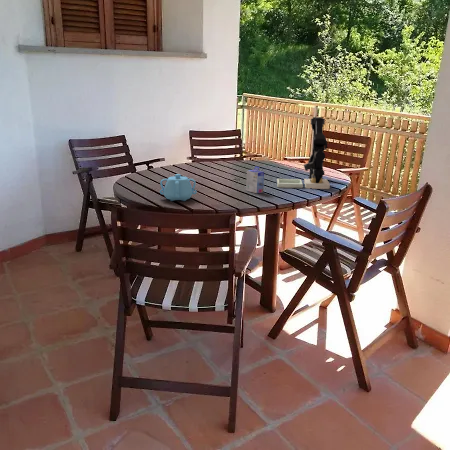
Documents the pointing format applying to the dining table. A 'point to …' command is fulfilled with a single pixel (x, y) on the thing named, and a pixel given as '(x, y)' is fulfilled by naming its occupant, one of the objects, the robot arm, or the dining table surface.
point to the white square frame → (317, 184)
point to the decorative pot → (178, 188)
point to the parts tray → (289, 183)
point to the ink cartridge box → (255, 181)
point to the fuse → (315, 179)
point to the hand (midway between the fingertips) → (316, 183)
